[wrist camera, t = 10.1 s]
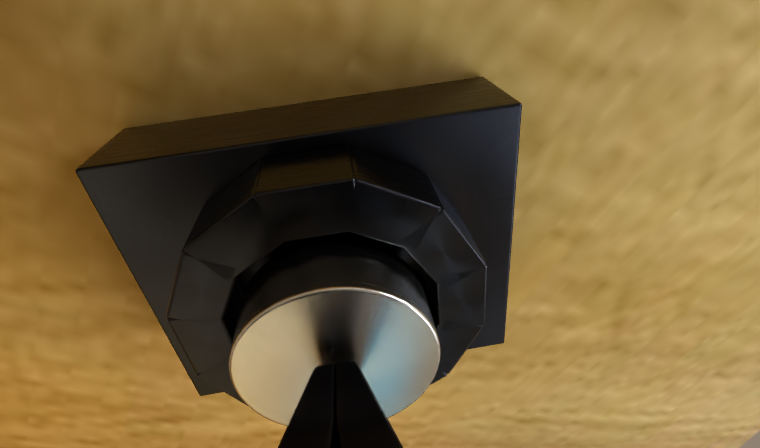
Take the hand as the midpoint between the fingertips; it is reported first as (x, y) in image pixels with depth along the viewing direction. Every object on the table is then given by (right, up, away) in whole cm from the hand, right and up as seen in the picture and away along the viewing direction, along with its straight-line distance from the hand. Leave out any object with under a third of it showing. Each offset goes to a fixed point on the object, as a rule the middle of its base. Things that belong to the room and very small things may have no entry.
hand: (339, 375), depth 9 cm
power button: (0, +1, +2) cm, 2 cm away
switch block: (-1, +3, +5) cm, 6 cm away
